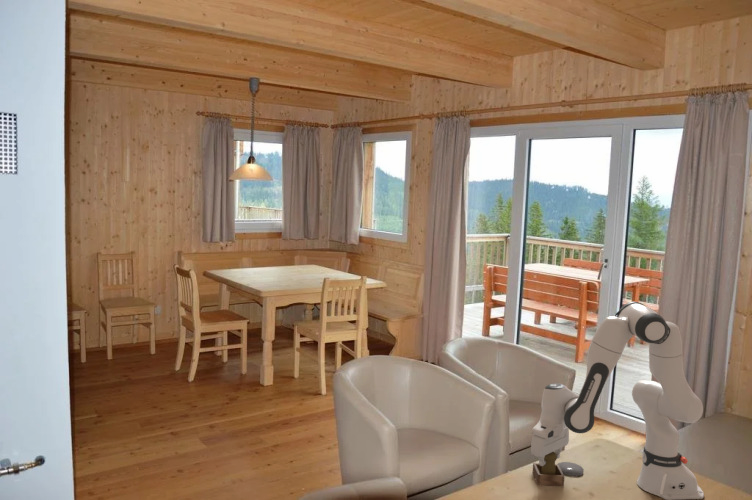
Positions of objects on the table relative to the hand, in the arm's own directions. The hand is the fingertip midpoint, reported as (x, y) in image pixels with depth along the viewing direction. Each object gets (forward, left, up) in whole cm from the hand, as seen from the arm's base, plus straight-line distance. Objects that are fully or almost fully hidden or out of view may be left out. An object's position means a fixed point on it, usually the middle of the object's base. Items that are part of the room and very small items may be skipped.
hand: (549, 461), depth 233 cm
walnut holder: (0, 0, -7) cm, 7 cm away
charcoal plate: (-10, -9, -7) cm, 16 cm away
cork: (0, 0, -7) cm, 7 cm away
